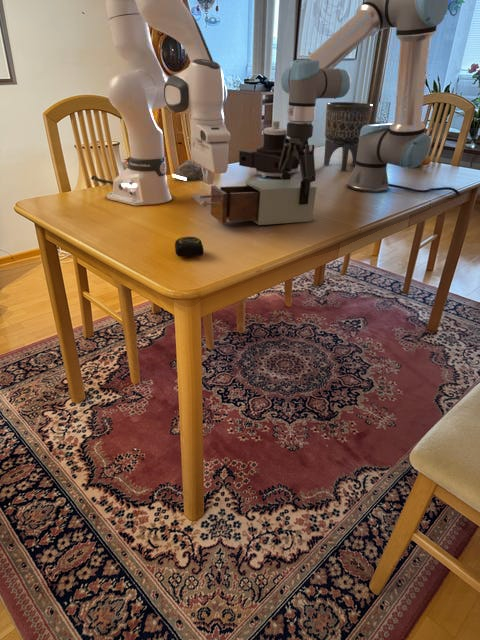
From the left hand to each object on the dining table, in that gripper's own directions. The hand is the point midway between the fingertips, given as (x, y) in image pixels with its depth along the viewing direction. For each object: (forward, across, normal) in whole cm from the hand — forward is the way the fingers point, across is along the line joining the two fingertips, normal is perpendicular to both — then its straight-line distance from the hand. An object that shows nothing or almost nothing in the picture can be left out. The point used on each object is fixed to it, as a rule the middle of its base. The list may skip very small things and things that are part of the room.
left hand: (208, 183), depth 127 cm
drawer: (+11, 0, +8) cm, 13 cm away
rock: (+13, -59, +14) cm, 62 cm away
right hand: (+7, 0, +28) cm, 29 cm away
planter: (+13, -60, +87) cm, 106 cm away
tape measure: (+13, +20, -12) cm, 26 cm away
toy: (+13, -52, +124) cm, 135 cm away
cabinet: (+12, 0, +23) cm, 26 cm away
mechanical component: (+13, -56, +53) cm, 79 cm away
